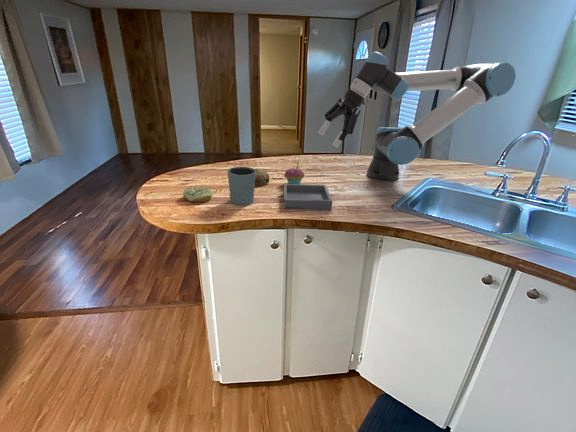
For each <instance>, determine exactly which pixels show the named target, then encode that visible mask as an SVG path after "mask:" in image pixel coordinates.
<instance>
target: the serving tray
mask: <svg viewBox="0 0 576 432" xmlns="http://www.w3.org/2000/svg"><path fill="white" fill-rule="evenodd" d="M283 206H284V207H283V208H284V209H283V210H307V211H308V210H309V211H310V210H313V211H314V210H315V211H332V210H333V209H332V208H333V200H332V196H331V194H330V192H329V188H328V187H327V184H304V183H303V184H302V183H300V184H288V183H283Z"/></svg>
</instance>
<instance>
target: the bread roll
mask: <svg viewBox="0 0 576 432" xmlns="http://www.w3.org/2000/svg"><path fill="white" fill-rule="evenodd" d="M254 169H255V170H256V176H255V183H254V184H255V186H260V187H261V186H265V185H266V186H267V185H268V184H269V182H270V175H269V173H268V172H267V171H266V170H265V169H263V168H254Z"/></svg>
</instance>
